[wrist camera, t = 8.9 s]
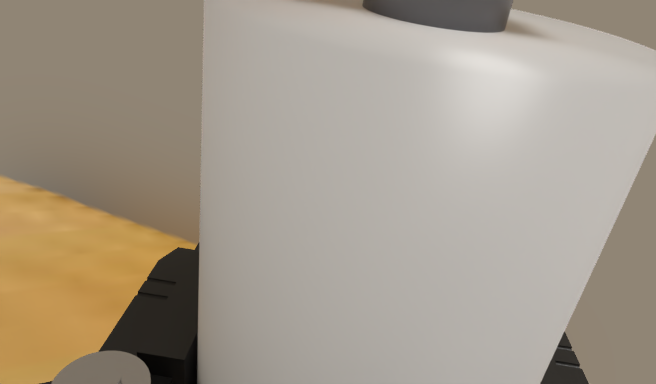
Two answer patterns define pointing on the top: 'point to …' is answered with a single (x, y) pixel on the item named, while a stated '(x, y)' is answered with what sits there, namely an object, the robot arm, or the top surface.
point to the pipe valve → (406, 186)
